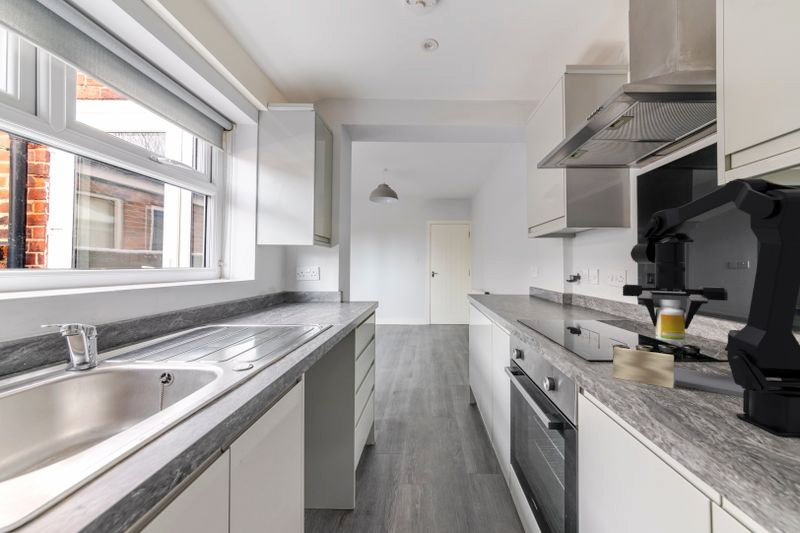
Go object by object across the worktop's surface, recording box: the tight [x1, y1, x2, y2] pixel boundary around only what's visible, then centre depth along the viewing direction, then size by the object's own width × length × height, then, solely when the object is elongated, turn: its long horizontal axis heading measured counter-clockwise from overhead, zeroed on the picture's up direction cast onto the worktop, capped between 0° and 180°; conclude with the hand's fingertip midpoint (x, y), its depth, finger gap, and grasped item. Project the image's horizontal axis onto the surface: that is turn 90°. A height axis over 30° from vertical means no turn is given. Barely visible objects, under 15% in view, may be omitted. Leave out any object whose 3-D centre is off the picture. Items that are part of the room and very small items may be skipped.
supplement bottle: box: [654, 298, 686, 343], centre depth 76 cm, size 5×5×10 cm
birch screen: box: [612, 346, 675, 389], centre depth 73 cm, size 11×2×7 cm, turn 53°
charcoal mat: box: [673, 367, 745, 398], centre depth 72 cm, size 12×12×1 cm
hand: (670, 327), depth 76 cm, fingers closed on supplement bottle, 5 cm apart
